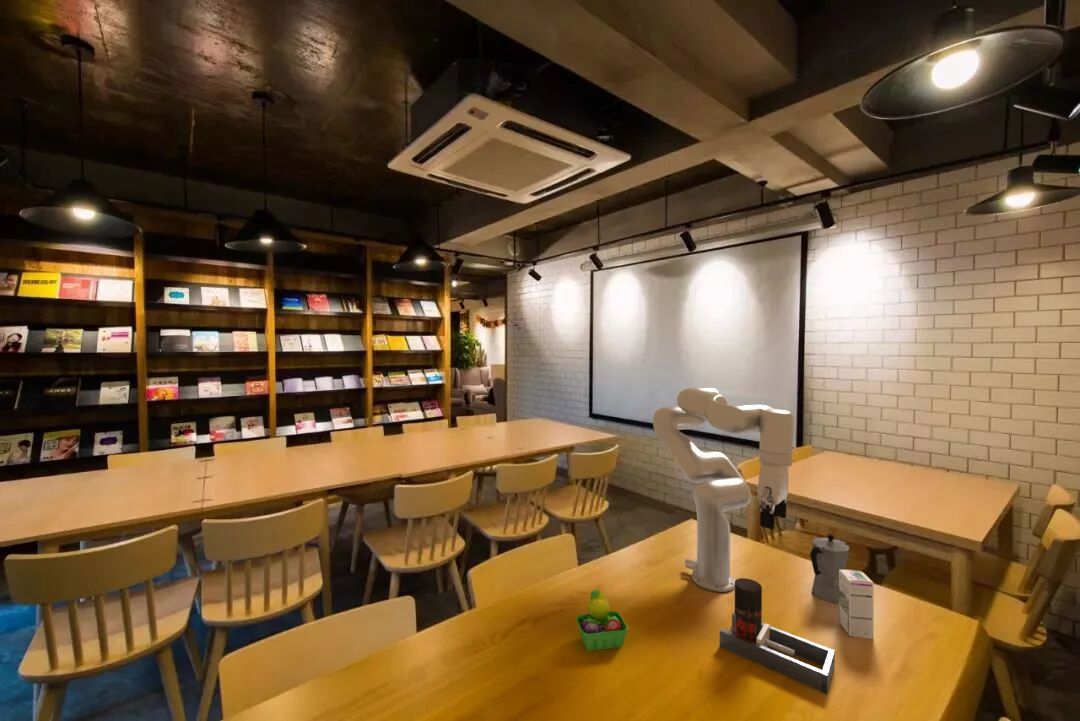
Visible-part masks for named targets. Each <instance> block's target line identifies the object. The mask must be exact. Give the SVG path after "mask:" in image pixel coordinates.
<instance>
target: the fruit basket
mask: <svg viewBox="0 0 1080 721" xmlns="http://www.w3.org/2000/svg"><path fill="white" fill-rule="evenodd" d="M610 609H611V608H610V604H609V602H608V600H607V599H606V596H605V594H604V592H602V591H601V590H599V589H593V590H592V591H591V593H590V598H589V601H588V603H587V611H588V613H585V614H578V615H576V617H575V618H576V623H577V624H578V628H579V632H580V636H581V639H582V642H583V644H584V647H585V650H586V651H587V652H590V651H598V650H599V651H600V650H604V649H607V650H608V649H613V648H622V647H623V646H624V645H623V644H624V642H625V638H626V635H627V633H628V630H629V627H628V625H627V624H626V622H625V620H624V618H623V617H622V615H621V613H620V612H619V611H618V610H615V611H610Z"/></svg>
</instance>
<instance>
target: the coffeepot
mask: <svg viewBox="0 0 1080 721" xmlns="http://www.w3.org/2000/svg"><path fill="white" fill-rule="evenodd" d="M834 537H835V535H834V534H831V533H827V537H814V538H813V540H812V542H811V544H812V548H811V550H810V552H809V556H810V561H811V565H812V569H813V572H814V579H813V584H812V588H811V592H812V593H813V594H814V595H815V596H816V597H817V598H819V599H821V600H823V601H826V602H828V603H833V604H839V570H846V568H847V562H848V558H849V551H850V546H849V545H847V544H846V543H847V542H846V541H843V540H841V539H835V538H834Z"/></svg>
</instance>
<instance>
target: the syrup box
mask: <svg viewBox="0 0 1080 721" xmlns="http://www.w3.org/2000/svg"><path fill="white" fill-rule="evenodd" d="M874 607H875V606H874V582H873V580H871V579H870V577H868V576H867V575H866V574H865V573H864V572H863V571H861V570H855V569H845V570H839V603H838V623H839V625H840V626H841V628H843V630H844V631H845V633H846V634H847V635H848V636H849V637H854V638H859V639H860V638H861V639H868V640H869V639H870V640H874V628H875V627H874V617H875V616H874V609H875V608H874Z"/></svg>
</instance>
